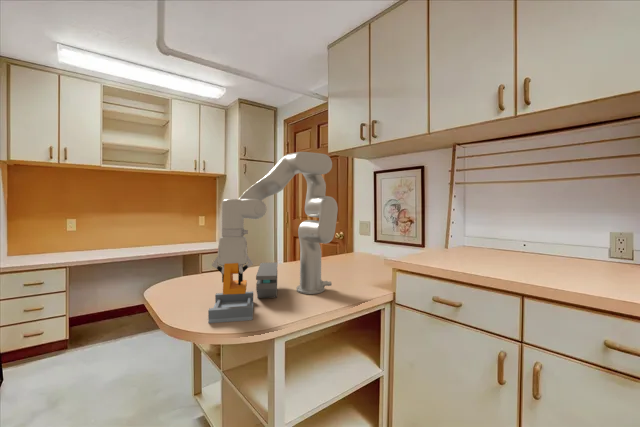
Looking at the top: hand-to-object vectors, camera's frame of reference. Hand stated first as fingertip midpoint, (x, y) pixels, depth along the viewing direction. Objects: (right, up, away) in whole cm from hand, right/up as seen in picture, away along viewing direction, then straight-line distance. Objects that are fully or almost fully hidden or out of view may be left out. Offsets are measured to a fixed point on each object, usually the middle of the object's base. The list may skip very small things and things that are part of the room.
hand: (232, 283), depth 105 cm
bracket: (+1, -3, +1) cm, 3 cm away
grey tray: (0, -10, +1) cm, 10 cm away
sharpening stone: (+9, -10, +22) cm, 25 cm away
